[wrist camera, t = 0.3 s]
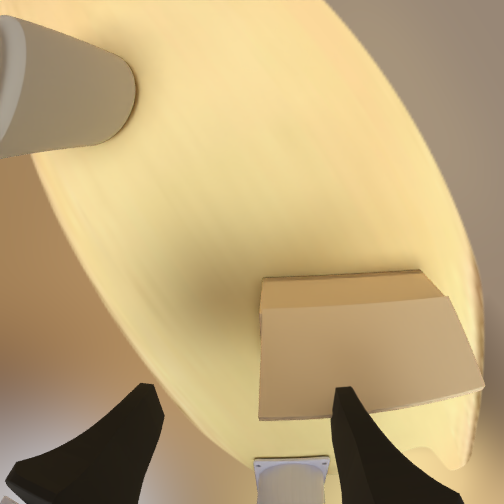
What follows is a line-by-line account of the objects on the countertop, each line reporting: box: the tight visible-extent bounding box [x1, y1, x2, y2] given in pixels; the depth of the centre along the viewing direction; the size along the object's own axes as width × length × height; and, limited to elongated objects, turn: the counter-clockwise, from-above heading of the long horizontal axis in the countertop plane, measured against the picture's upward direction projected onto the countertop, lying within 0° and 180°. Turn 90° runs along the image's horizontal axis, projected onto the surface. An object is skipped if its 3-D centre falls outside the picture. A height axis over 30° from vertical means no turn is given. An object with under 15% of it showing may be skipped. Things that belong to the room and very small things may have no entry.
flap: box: [258, 296, 485, 421], centre depth 13 cm, size 6×11×1 cm
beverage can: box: [0, 15, 135, 159], centre depth 12 cm, size 6×6×12 cm
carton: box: [259, 270, 445, 336], centre depth 19 cm, size 6×11×4 cm, turn 94°
